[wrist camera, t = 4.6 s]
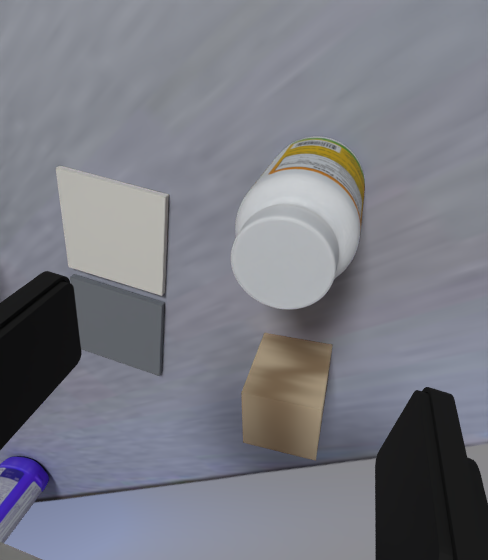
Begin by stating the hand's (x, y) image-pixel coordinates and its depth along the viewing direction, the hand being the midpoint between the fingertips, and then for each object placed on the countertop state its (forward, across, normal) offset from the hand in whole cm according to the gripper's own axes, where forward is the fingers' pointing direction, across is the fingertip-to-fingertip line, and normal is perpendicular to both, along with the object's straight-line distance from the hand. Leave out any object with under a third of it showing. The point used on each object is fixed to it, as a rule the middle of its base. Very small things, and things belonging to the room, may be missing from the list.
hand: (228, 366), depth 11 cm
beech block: (+15, -2, +14) cm, 20 cm away
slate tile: (+15, +12, +16) cm, 25 cm away
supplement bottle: (+15, 0, 0) cm, 15 cm away
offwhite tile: (+15, +12, +7) cm, 21 cm away
